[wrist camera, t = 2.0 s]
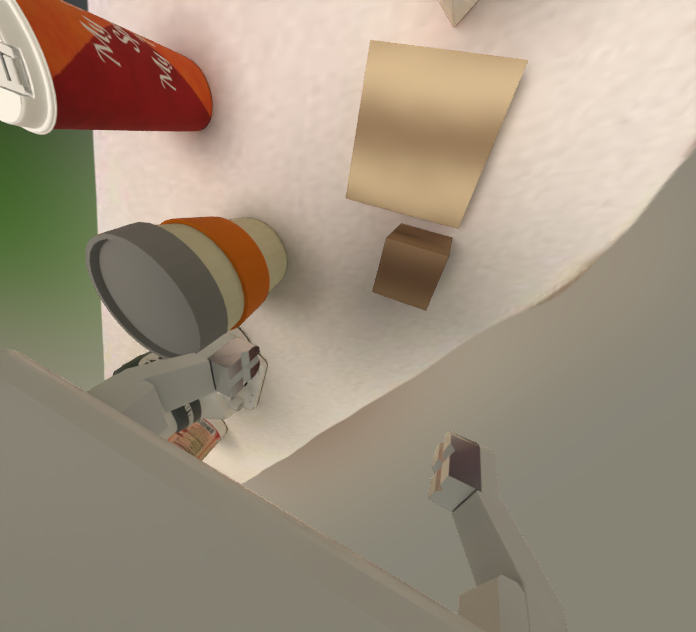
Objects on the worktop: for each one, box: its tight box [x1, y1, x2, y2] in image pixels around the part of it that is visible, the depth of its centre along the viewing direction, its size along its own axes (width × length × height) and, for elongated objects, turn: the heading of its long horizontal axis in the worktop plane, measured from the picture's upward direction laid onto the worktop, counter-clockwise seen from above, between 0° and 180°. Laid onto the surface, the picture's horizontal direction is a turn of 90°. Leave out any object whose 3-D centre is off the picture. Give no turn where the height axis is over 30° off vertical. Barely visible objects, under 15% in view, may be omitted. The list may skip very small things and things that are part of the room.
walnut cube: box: [372, 223, 452, 311], centre depth 24 cm, size 5×5×6 cm
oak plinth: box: [346, 40, 528, 229], centre depth 20 cm, size 10×10×3 cm
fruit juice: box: [167, 419, 227, 461], centre depth 53 cm, size 9×9×28 cm
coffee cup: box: [0, 0, 212, 134], centre depth 21 cm, size 8×8×15 cm
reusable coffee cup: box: [85, 217, 287, 359], centre depth 28 cm, size 12×13×15 cm
